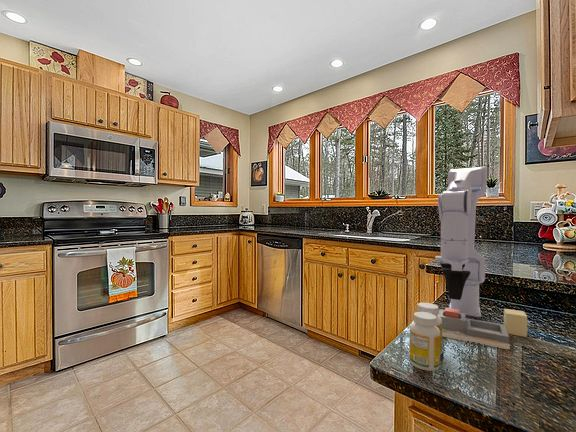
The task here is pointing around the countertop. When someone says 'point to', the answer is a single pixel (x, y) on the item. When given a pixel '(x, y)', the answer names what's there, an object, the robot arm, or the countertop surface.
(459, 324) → the panel
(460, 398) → the countertop surface
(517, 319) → the tan block
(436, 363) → the supplement bottle
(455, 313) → the plunger
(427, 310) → the supplement bottle
